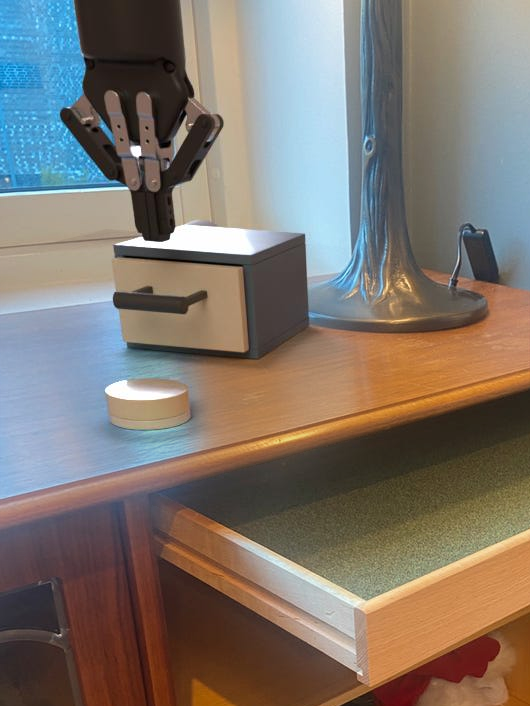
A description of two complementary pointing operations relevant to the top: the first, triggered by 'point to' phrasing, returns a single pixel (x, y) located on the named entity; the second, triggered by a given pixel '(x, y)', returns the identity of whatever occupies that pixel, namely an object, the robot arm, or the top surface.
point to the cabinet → (259, 278)
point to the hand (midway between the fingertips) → (156, 240)
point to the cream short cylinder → (148, 403)
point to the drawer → (181, 303)
